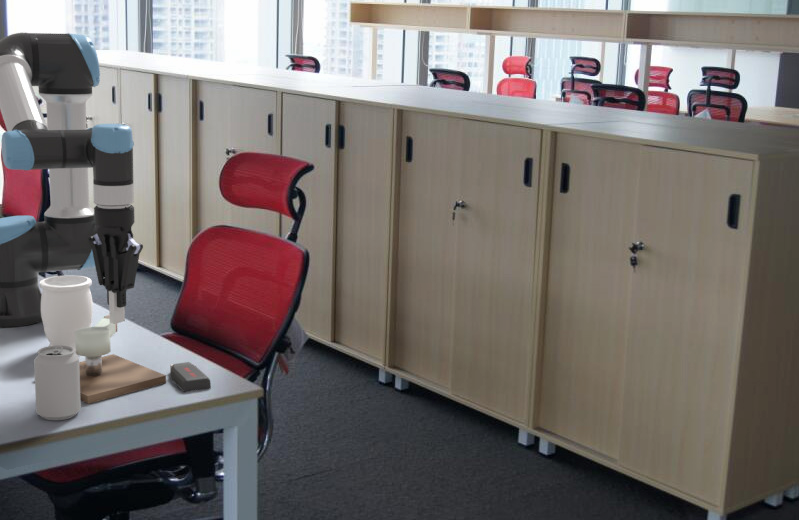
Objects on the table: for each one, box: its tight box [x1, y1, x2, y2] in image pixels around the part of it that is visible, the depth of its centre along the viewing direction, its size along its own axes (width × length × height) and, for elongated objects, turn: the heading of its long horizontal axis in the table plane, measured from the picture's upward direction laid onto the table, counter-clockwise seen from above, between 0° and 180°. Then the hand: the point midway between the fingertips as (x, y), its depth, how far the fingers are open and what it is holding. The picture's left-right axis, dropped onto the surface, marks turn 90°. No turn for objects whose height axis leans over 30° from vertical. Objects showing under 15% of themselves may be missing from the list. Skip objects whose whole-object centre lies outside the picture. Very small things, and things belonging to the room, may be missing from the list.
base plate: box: [79, 353, 167, 405], centre depth 203 cm, size 18×17×2 cm
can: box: [33, 345, 82, 421], centre depth 184 cm, size 8×8×12 cm
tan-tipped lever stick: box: [75, 314, 118, 357], centre depth 206 cm, size 16×6×4 cm, turn 179°
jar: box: [39, 275, 94, 353], centre depth 220 cm, size 11×10×15 cm
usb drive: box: [169, 361, 212, 393], centre depth 205 cm, size 5×12×3 cm, turn 29°
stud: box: [84, 355, 103, 376], centre depth 202 cm, size 3×3×4 cm
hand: (117, 321), depth 209 cm, fingers closed
